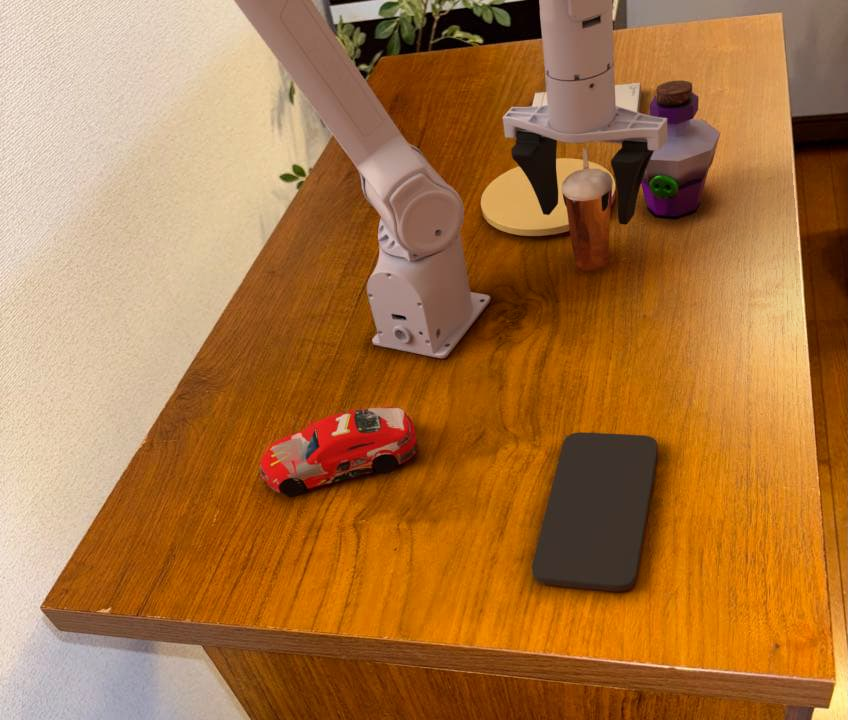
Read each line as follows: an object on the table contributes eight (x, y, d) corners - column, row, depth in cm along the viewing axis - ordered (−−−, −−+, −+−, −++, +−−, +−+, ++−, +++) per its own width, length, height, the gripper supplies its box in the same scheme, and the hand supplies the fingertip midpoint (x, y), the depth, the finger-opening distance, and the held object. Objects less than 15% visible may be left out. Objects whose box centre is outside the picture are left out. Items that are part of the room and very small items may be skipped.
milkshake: (614, 241, 96) (610, 144, 89) (616, 273, 93) (612, 174, 85) (568, 246, 97) (560, 150, 90) (568, 277, 94) (559, 180, 86)
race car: (266, 505, 80) (251, 470, 77) (264, 461, 84) (249, 426, 81) (423, 466, 80) (413, 430, 77) (414, 424, 83) (404, 388, 80)
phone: (527, 577, 69) (565, 431, 78) (528, 584, 70) (565, 438, 79) (634, 587, 67) (660, 435, 76) (634, 595, 67) (660, 443, 76)
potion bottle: (633, 233, 97) (630, 114, 88) (626, 188, 102) (622, 72, 94) (723, 221, 95) (729, 99, 86) (711, 176, 101) (716, 58, 92)
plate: (583, 249, 96) (582, 236, 95) (459, 232, 103) (457, 220, 102) (636, 176, 104) (636, 164, 103) (517, 164, 110) (516, 152, 109)
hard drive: (641, 80, 115) (535, 90, 118) (637, 114, 109) (526, 122, 112) (641, 94, 116) (536, 103, 119) (637, 128, 111) (528, 136, 114)
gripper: (681, 47, 80) (678, 199, 90) (521, 41, 87) (535, 183, 97) (649, 87, 76) (650, 241, 86) (485, 77, 83) (503, 221, 93)
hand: (588, 213), depth 91 cm, fingers open, 7 cm apart
